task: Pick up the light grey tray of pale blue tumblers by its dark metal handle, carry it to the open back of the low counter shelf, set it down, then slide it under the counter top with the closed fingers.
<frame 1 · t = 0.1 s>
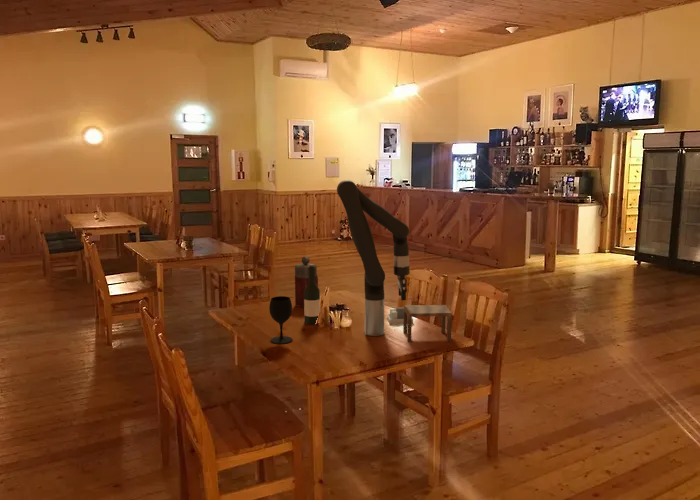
hand: (402, 297, 277), 17 cm above the table, fingers open, 8 cm apart
tray: (399, 321, 299), on the table
wine bottle: (312, 322, 297), on the table
counter shelf: (426, 336, 274), on the table
pepper mill: (307, 304, 332), on the table
wine glass: (281, 340, 269), on the table
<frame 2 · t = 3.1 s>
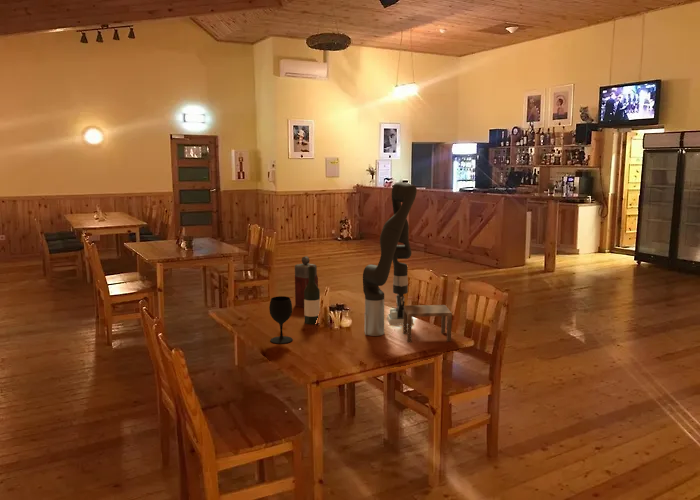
hand: (400, 316, 298), 3 cm above the table, fingers closed on tray
tray: (399, 321, 299), on the table, touching gripper
everything else where it was.
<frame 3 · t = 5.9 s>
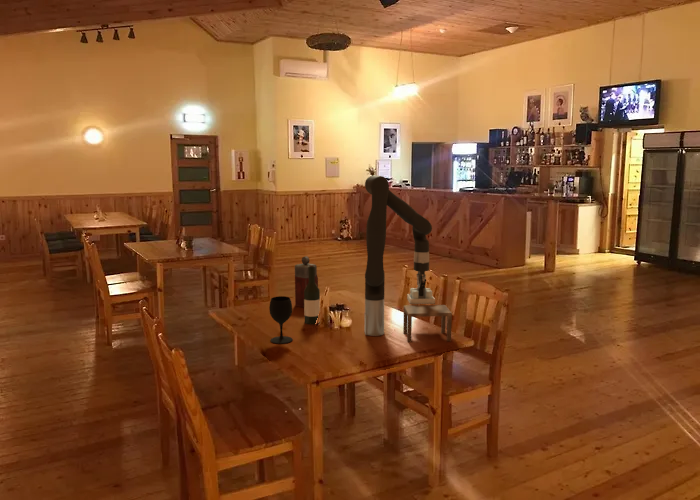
hand: (420, 295, 285), 17 cm above the table, fingers closed on tray
tray: (420, 301, 285), point 14 cm above the table, touching gripper
everything else where it was.
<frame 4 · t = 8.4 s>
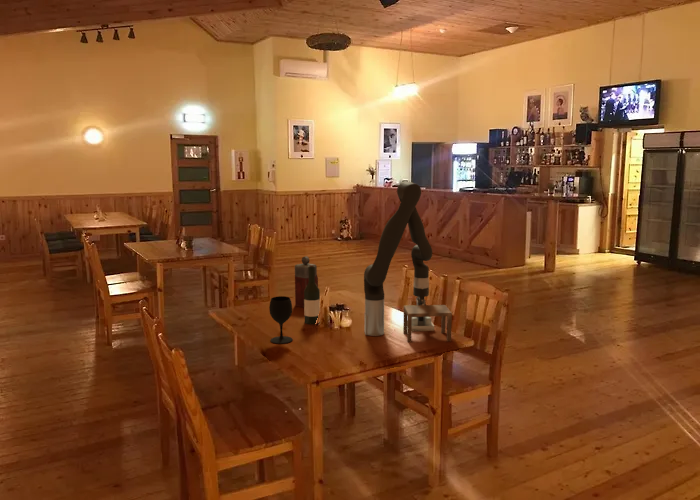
hand: (420, 320, 287), 4 cm above the table, fingers closed
tray: (420, 327, 287), on the table
everything else where it was.
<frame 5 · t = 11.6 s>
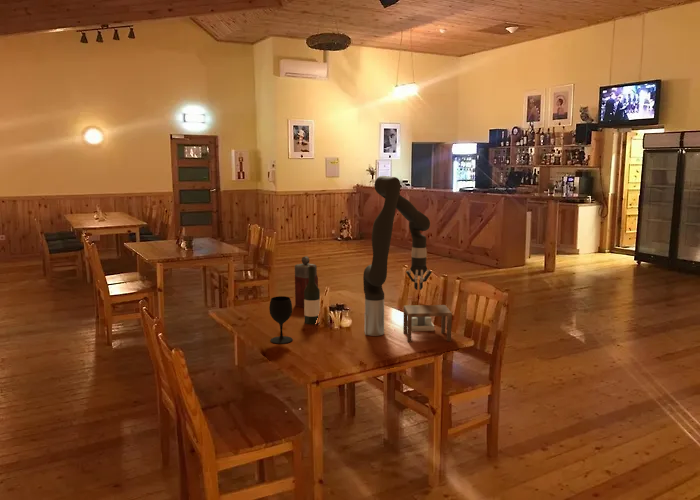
hand: (418, 289, 295), 17 cm above the table, fingers closed
nothing on the table moved.
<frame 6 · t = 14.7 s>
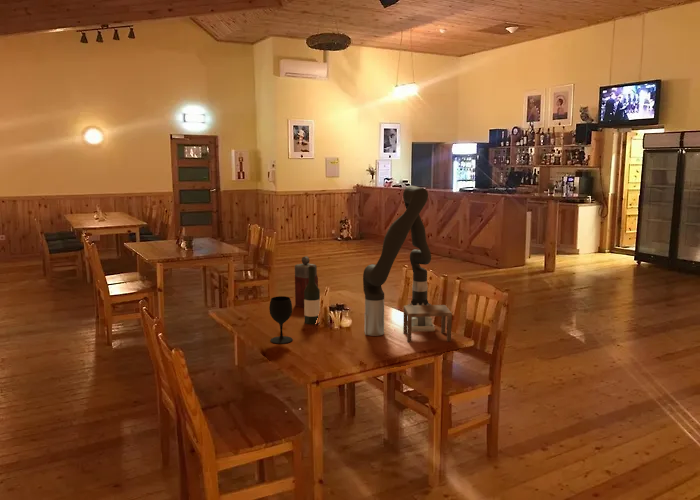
hand: (419, 322, 293), 1 cm above the table, fingers closed
tray: (420, 328, 287), on the table, touching gripper
everything else where it was.
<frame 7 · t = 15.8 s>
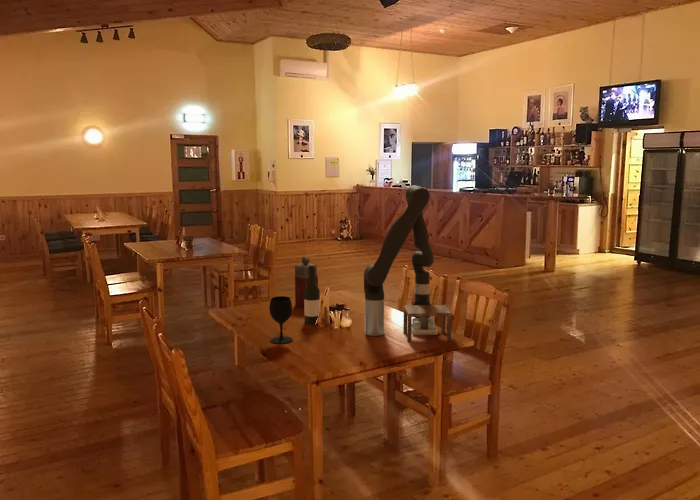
hand: (421, 325, 287), 1 cm above the table, fingers closed
tray: (423, 331, 281), on the table, touching gripper
everything else where it was.
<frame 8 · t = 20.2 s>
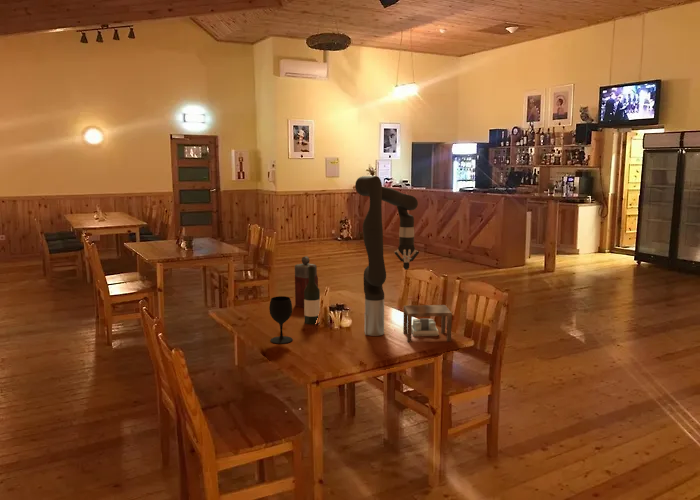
hand: (406, 269, 295), 27 cm above the table, fingers closed
tray: (424, 332, 280), on the table
everything else where it was.
at the end: tray inside the target area (4.7 cm from its centre), on the table; tray tilted 0°; the gripper is holding nothing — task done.
